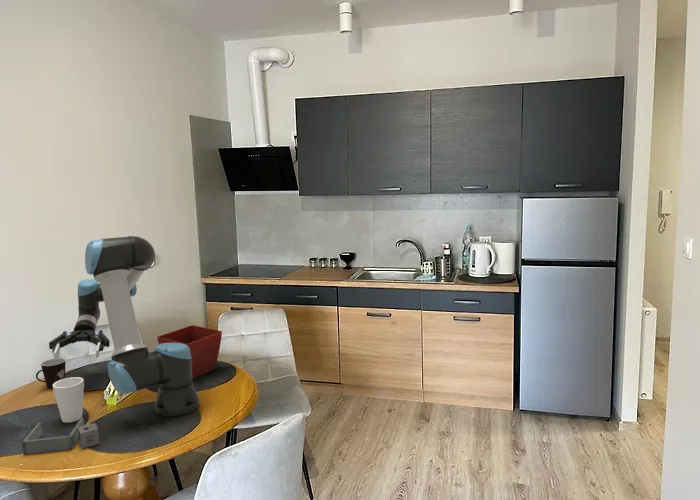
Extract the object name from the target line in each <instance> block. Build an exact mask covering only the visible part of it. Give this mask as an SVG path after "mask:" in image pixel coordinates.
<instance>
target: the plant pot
mask: <svg viewBox="0 0 700 500" xmlns="http://www.w3.org/2000/svg"><path fill="white" fill-rule="evenodd" d="M222 335H223V330H219V329H214V328H208V327H203V326H199V325H195V324H194V325H193V324H192V325H187V326H185V327H182V328H179V329H175V330H173V331H170V332H167V333H164V334H161V335H158V336H156V338H157V342H158V345H159V344H162V343H181V344H185V345H187V346H188V347H189V348H190V353H191V357H192V358H191V364H192V379H193V380H194V379H196V378H198V377H201V376H203V375H206V374H207V373H210V372H212V371H214V369H215V367H216V364H217V362H218V358H219V354H220V348H221V344H222Z"/></svg>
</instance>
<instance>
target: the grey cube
mask: <svg viewBox="0 0 700 500" xmlns="http://www.w3.org/2000/svg"><path fill="white" fill-rule="evenodd" d="M78 435H79V439H78V441H79V442H78V443H79V446H80V447H81V450H83V449H85V448H89V447H93V446H96V445H97V446H98V445H100V434H99V427H98V426H97V424H96V422H94V423H91V424H90V423H89V424H86V425H85V424H84V426H82V427H78Z"/></svg>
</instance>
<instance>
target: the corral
mask: <svg viewBox="0 0 700 500" xmlns="http://www.w3.org/2000/svg"><path fill="white" fill-rule="evenodd" d="M82 426H85V420H84V417H82V418H81V419H79V420H78V421H77V423H76V425H75V427H73V429H72V430H71V432H70V434H69V435H64V436H57V437H56V436H55V437H54V436H53V437H45V438H41V436H42V435H43V429H42V428H43V426H42V422H38V423H37V424H36V425H35V427H33V428H32V430H31V431H30V432H29V434H27V436H26V437H25V438H24V440H23V441H22V443H21V444H22V451H23V455H33V454H40V453H49V452H59V451H67V450H73V448H74V447H75V445H77V443H78V441H79V435H78V427H82Z"/></svg>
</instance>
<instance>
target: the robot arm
mask: <svg viewBox="0 0 700 500" xmlns="http://www.w3.org/2000/svg"><path fill="white" fill-rule="evenodd" d="M155 260H156V251H155V248H154V246H153V245H152V244H151V242H149V241H148V240H146V239H145V238H143V237H141V236H135V235H130V236H129V235H128V236H121V237H120V236H119V237H109V238H100V239H94V240H93V239H92V240H90V241H89V242H88V243H87V244H86V248H85V255H84V264H85V271H86V273H87V275H93V279H92V278H90V279H88V278H86V279H82V280H81V281H79V282H78V283H77V300H78V301H77V302H78V307H77V309H78V316H77V319H76V322H75V325H74V328H73V331H72V332H68V331H67V330H64V331H63V332H62V333H61V334H60V335H58V336H57V337H55V338H54V339H52V340H51V341H49V342H48V347H49V348H48V349H49V350H52V351H51V352H52V354H53V359H57V358H58V356H59V354H60V351H61V349H62V348H64V347H66V346H68V345H71V344H74V343H78V342H79V343H80V342H88V343H89V344H91V343H92V344H94V345H95V346H96V349H95V358H99V357H100V352H103V351H104V349H105V348H109V347H110V339H109V338H108V337H107V336H106V335H105V334H104V333H103V330H102V329H100V330H98V331H97V332H96V329H97V326H98V323H99V319H100V317H101V309H100V303H102V302H103V303H104V307H105V311H106V315H107V320H108V325H109V330H110V333H111V339H112V343H113V348H114V351H113V353H112V354H111V356H110V357H111V361H109V362H108V363H107V373H108V377H109V380H110V383H111V384H112V386H113V388H114V390H115V391H116V392H117V393H118V394H121V395H126V394H131V393H136V392H139V391H142V390H147V389H150V388H152V387H153V388H154V387H156V386H157V387H158V391H157V395H156V398H155V402H154V410H155V413H156V414H157V415H158V416H161V417H178V416H184V415H186V414H189V413H192V412H194V411H196V409H198V408H199V407H200V397H199V395H198V393H197V390H196V388H195V386H194V381H193V380H194V379H192V364H191V358H192V357H191V353H190V348H189V347H188V346H187V345H185V344H181V343H162V344H159V343H158V344H157V345H155V347H154V351H149V349H148V346H147V345H145V344H143V343H142V340H141V334H140V331H139V326H138V322H137V319H136V317H137V316H136V314H135V309H134V304H133V301H132V300H133V299H132V297H134V296H136V294H137V289H138V288H137V282H138V281H139V279H140V278H141V277H142V276H143V275H144V272H145V271H148V270H149V269H150V268H151V267H152V266H153V264H154V262H155Z"/></svg>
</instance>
